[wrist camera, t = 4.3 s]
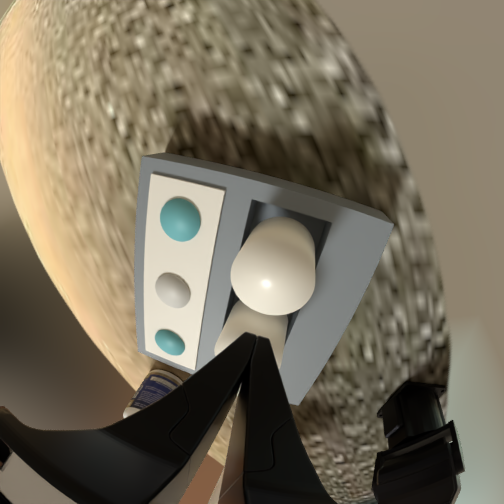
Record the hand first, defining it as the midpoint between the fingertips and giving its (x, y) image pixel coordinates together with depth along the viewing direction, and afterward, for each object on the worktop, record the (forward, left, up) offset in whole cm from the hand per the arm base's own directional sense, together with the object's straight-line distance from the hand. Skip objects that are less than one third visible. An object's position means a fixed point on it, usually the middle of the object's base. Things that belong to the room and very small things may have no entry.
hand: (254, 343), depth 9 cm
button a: (0, 0, -8) cm, 8 cm away
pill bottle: (+8, +22, -12) cm, 26 cm away
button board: (+2, +5, -11) cm, 13 cm away
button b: (0, +5, -8) cm, 10 cm away
